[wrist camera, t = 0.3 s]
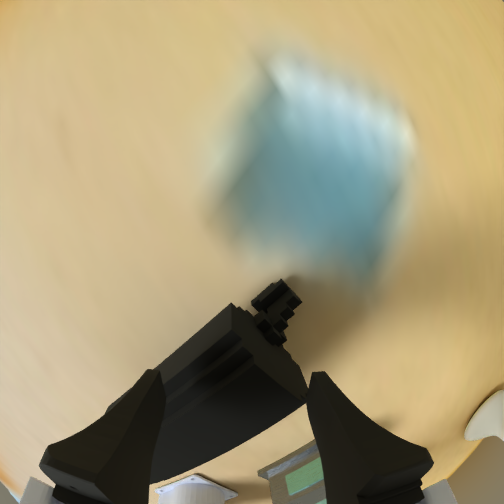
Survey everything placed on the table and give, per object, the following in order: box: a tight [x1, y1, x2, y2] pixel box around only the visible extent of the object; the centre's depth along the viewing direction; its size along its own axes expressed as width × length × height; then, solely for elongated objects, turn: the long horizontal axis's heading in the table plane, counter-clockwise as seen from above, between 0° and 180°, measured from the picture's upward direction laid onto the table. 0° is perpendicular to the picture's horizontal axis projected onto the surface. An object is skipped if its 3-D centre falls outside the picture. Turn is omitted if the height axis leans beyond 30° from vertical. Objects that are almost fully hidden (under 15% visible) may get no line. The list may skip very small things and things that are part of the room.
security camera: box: [104, 279, 308, 485], centre depth 18 cm, size 7×18×10 cm, turn 132°
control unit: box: [258, 439, 326, 504], centre depth 24 cm, size 12×5×6 cm, turn 132°
